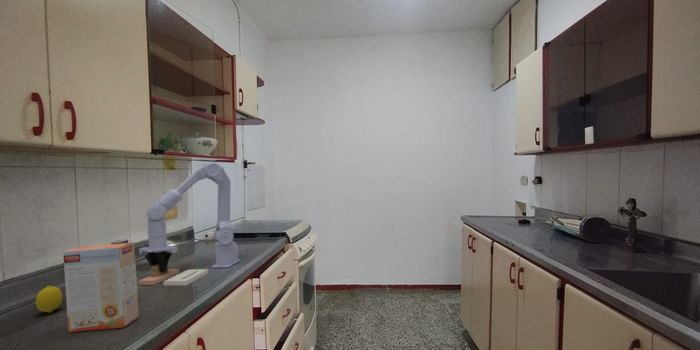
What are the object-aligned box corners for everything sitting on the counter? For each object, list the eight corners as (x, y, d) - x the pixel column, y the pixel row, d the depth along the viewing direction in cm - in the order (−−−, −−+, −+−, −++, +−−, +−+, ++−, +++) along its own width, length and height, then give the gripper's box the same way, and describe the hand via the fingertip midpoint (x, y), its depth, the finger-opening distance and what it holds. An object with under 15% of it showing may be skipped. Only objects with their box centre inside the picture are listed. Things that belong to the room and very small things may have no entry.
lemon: (60, 306, 88) (58, 281, 87) (66, 310, 85) (64, 283, 85) (34, 315, 83) (32, 287, 83) (39, 319, 80) (37, 291, 80)
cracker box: (140, 316, 77) (135, 241, 77) (123, 328, 71) (118, 247, 71) (88, 320, 77) (83, 244, 77) (67, 333, 71) (61, 250, 71)
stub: (165, 273, 114) (164, 259, 114) (179, 272, 113) (178, 259, 113) (139, 284, 102) (138, 269, 102) (154, 284, 101) (153, 269, 101)
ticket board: (187, 273, 112) (187, 269, 112) (208, 273, 111) (208, 269, 111) (163, 285, 101) (163, 280, 101) (186, 285, 99) (186, 280, 99)
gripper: (131, 239, 104) (133, 275, 105) (166, 238, 102) (168, 275, 102) (147, 234, 111) (149, 268, 112) (180, 233, 109) (182, 268, 109)
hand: (159, 271), depth 107 cm, fingers closed on stub, 2 cm apart
